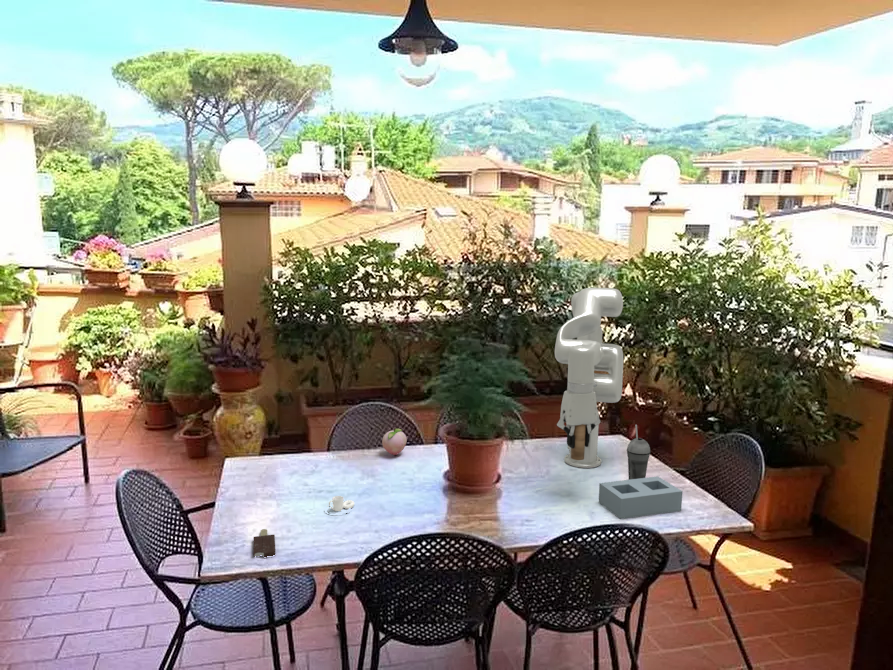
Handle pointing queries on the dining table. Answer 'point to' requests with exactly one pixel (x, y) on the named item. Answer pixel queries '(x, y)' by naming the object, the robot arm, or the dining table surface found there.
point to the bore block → (640, 497)
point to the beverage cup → (637, 457)
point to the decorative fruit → (394, 441)
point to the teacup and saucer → (341, 503)
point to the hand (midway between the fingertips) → (577, 445)
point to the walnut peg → (579, 443)
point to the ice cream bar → (264, 544)
